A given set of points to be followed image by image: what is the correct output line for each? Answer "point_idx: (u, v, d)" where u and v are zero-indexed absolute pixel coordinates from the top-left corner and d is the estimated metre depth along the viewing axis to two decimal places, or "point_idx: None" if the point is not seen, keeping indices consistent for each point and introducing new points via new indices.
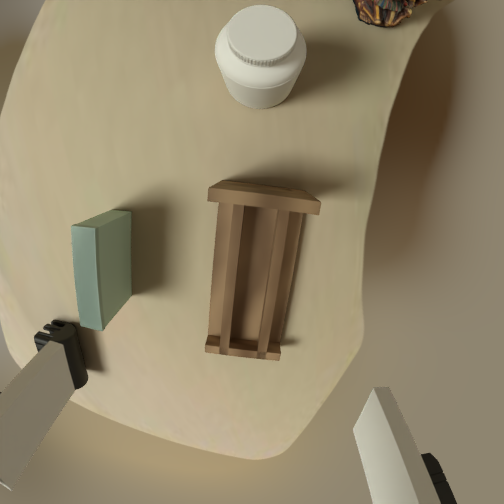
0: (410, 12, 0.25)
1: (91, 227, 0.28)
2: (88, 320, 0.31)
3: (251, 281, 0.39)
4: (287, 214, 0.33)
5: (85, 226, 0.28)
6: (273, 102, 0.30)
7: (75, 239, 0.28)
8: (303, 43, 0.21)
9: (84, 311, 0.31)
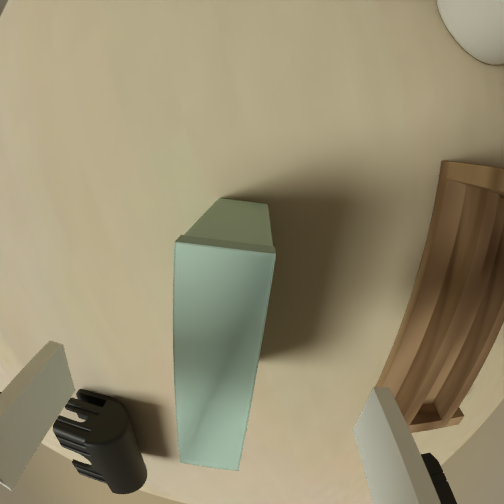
0: None
1: (256, 249, 0.09)
2: (204, 457, 0.13)
3: None
4: None
5: (229, 244, 0.10)
6: None
7: (190, 284, 0.10)
8: None
9: (196, 444, 0.12)
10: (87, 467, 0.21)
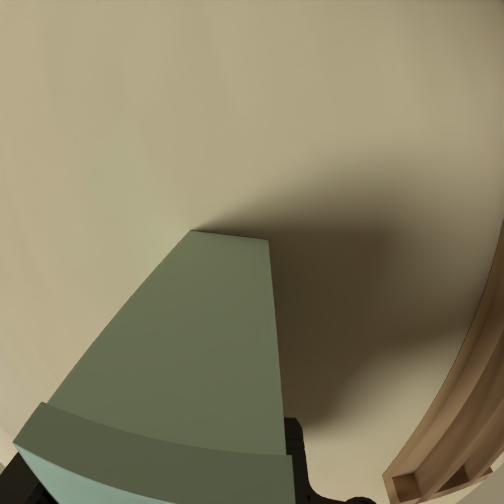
0: None
1: (234, 490, 0.02)
2: None
3: None
4: None
5: (154, 470, 0.02)
6: None
7: None
8: None
9: None
10: None
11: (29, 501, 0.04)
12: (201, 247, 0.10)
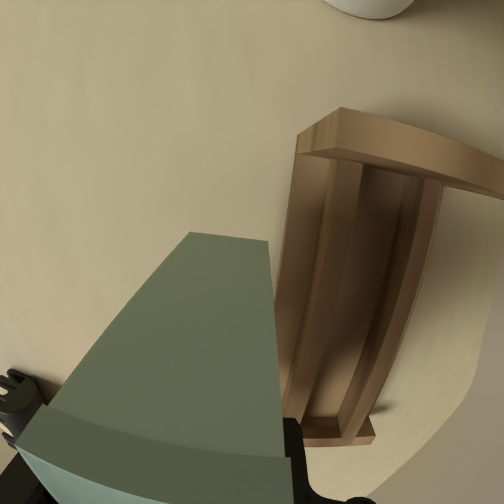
0: None
1: (233, 491, 0.02)
2: None
3: (343, 329, 0.20)
4: (434, 206, 0.15)
5: (155, 471, 0.02)
6: (401, 1, 0.11)
7: None
8: None
9: None
10: (12, 439, 0.20)
11: (29, 501, 0.04)
12: (201, 248, 0.10)
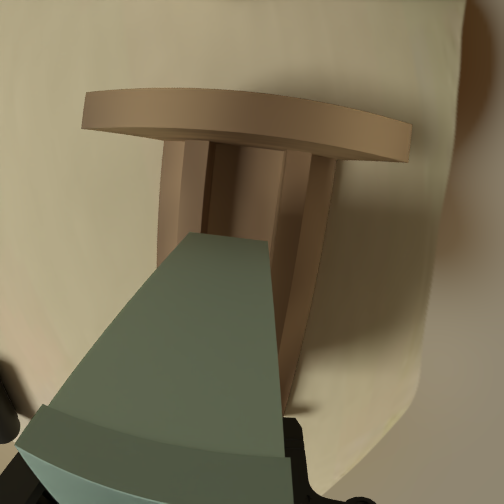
0: None
1: (233, 491, 0.02)
2: None
3: None
4: (304, 180, 0.15)
5: (155, 472, 0.02)
6: None
7: None
8: None
9: None
10: None
11: (29, 501, 0.04)
12: (201, 249, 0.10)
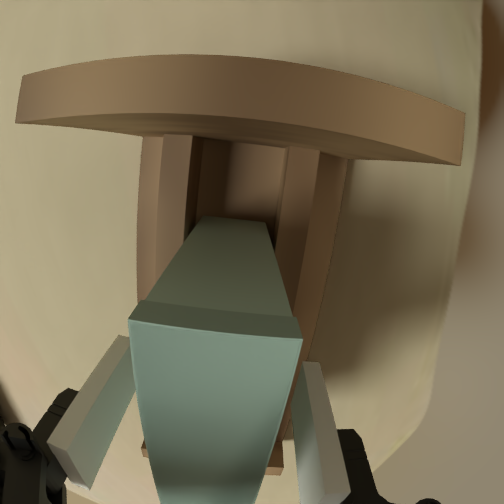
0: None
1: (268, 328, 0.05)
2: None
3: None
4: (310, 184, 0.12)
5: (222, 321, 0.05)
6: None
7: (160, 382, 0.05)
8: None
9: None
10: None
11: None
12: (216, 225, 0.13)
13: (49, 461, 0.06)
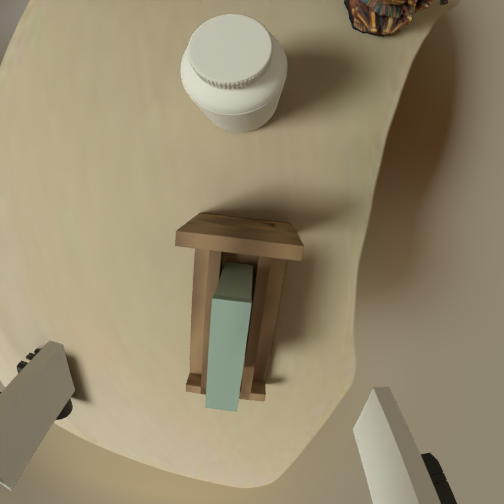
0: (410, 18, 0.22)
1: (244, 301, 0.24)
2: (219, 402, 0.27)
3: None
4: None
5: (233, 299, 0.24)
6: (253, 126, 0.27)
7: (217, 314, 0.24)
8: (283, 58, 0.18)
9: (215, 393, 0.26)
10: None
11: None
12: (231, 268, 0.32)
13: None
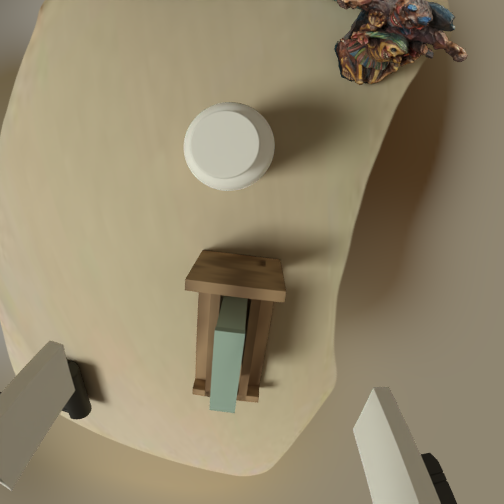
0: (396, 68, 0.28)
1: (239, 332, 0.31)
2: (220, 405, 0.33)
3: None
4: None
5: (231, 330, 0.31)
6: None
7: (219, 342, 0.31)
8: (270, 141, 0.24)
9: (217, 399, 0.33)
10: None
11: None
12: (230, 297, 0.38)
13: None
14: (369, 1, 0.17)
